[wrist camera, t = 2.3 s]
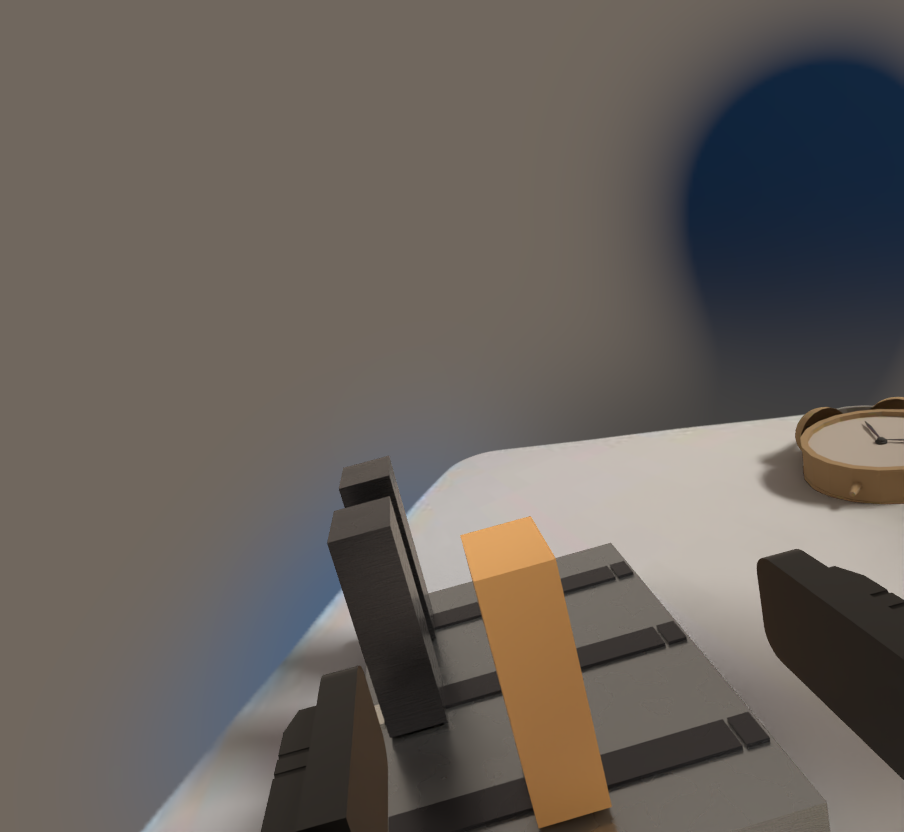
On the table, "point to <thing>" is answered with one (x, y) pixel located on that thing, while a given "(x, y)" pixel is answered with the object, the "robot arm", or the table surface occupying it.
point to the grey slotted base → (606, 683)
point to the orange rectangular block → (537, 669)
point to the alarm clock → (855, 451)
